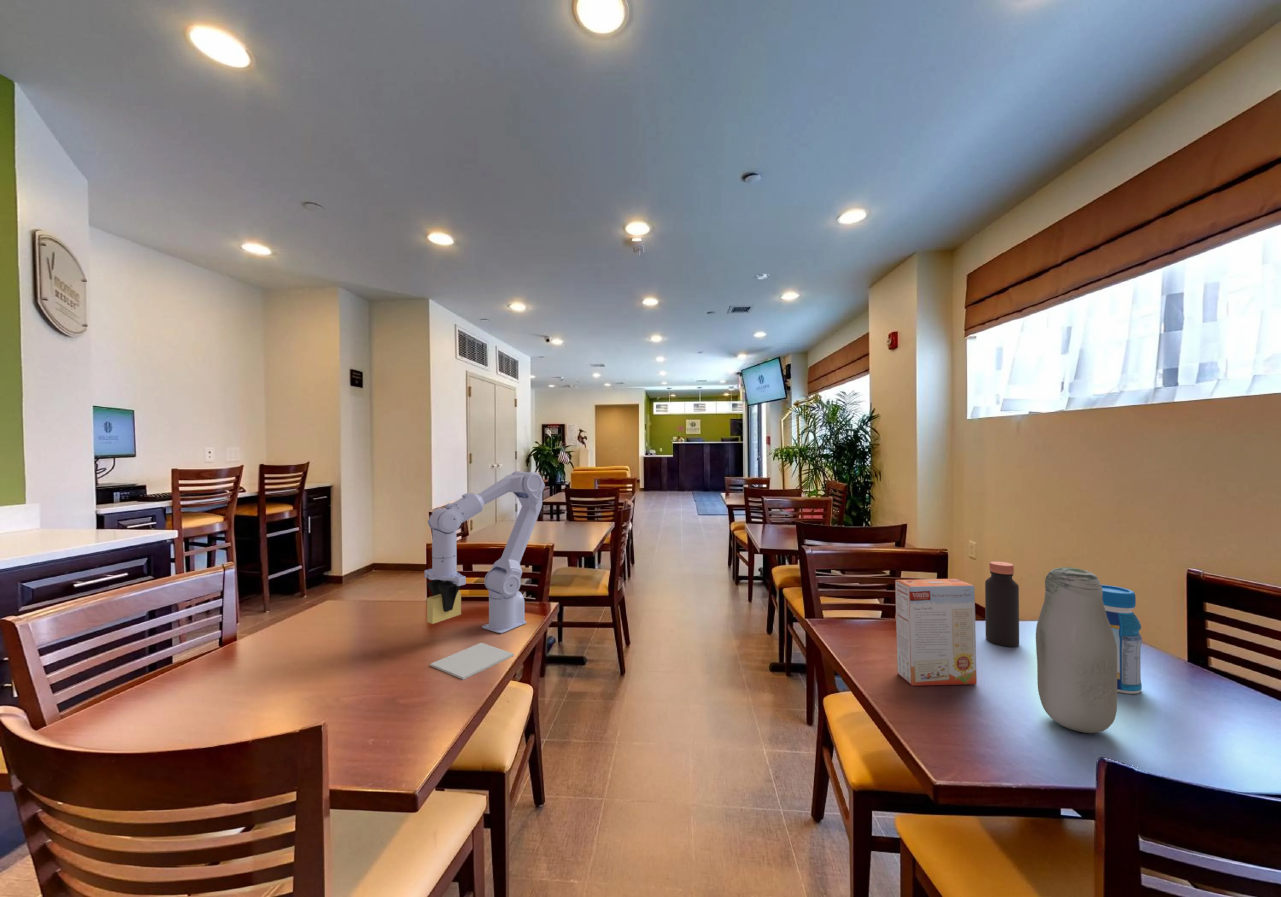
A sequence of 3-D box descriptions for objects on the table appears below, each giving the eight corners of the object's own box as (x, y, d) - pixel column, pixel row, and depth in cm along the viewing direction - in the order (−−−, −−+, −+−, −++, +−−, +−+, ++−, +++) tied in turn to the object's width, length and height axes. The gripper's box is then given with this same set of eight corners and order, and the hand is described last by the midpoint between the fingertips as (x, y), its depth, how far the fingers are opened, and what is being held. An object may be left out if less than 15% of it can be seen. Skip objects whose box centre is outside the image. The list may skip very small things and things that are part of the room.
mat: (481, 644, 118) (481, 642, 118) (513, 655, 112) (513, 653, 112) (430, 665, 106) (430, 663, 106) (463, 679, 100) (463, 677, 100)
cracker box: (957, 672, 102) (956, 577, 103) (978, 686, 96) (977, 585, 97) (894, 673, 102) (894, 577, 102) (911, 686, 96) (910, 585, 96)
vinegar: (1026, 647, 115) (1025, 566, 115) (998, 647, 115) (997, 566, 115) (1005, 636, 122) (1004, 560, 122) (979, 636, 122) (978, 560, 122)
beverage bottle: (1150, 699, 91) (1149, 597, 91) (1091, 688, 95) (1090, 590, 95) (1133, 681, 98) (1132, 586, 98) (1079, 671, 102) (1078, 581, 103)
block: (455, 612, 122) (455, 589, 122) (461, 614, 121) (461, 591, 121) (427, 622, 116) (427, 597, 116) (432, 623, 114) (432, 599, 114)
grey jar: (1074, 710, 87) (1072, 561, 87) (1134, 744, 77) (1132, 575, 77) (1023, 711, 87) (1021, 561, 87) (1076, 746, 77) (1074, 576, 77)
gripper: (413, 555, 119) (413, 608, 119) (447, 562, 111) (447, 619, 111) (438, 550, 125) (438, 601, 125) (472, 557, 117) (473, 611, 117)
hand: (444, 609), depth 118 cm, fingers closed on block, 2 cm apart
